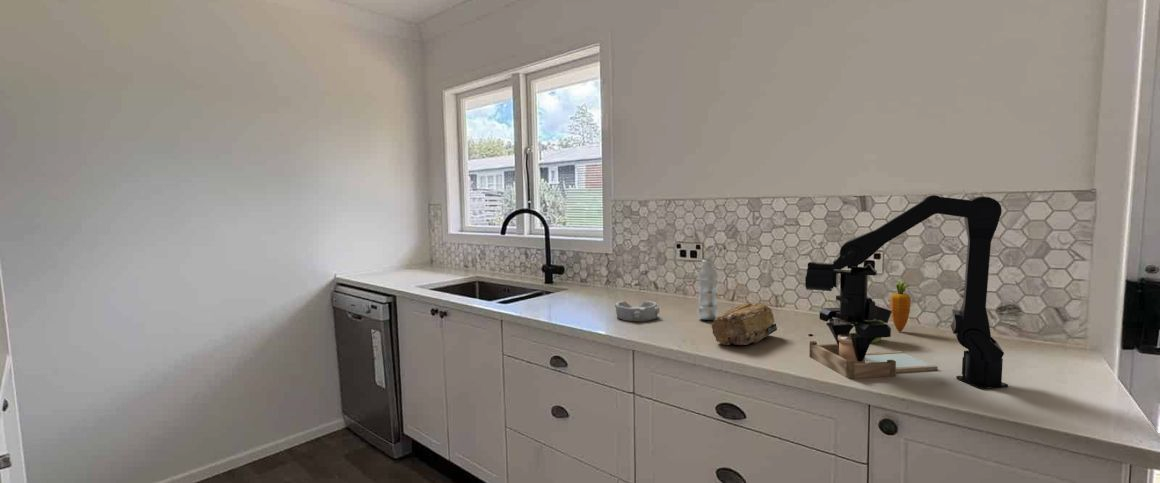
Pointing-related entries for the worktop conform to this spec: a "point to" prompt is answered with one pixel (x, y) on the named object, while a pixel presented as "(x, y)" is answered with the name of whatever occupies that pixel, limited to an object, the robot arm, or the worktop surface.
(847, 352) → the terracotta pot
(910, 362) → the lid pane
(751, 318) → the petrified wood
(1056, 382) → the worktop surface
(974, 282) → the robot arm
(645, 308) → the dish
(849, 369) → the frame
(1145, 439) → the worktop surface
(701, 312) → the plastic bottle
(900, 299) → the carrot
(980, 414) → the worktop surface
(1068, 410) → the worktop surface
